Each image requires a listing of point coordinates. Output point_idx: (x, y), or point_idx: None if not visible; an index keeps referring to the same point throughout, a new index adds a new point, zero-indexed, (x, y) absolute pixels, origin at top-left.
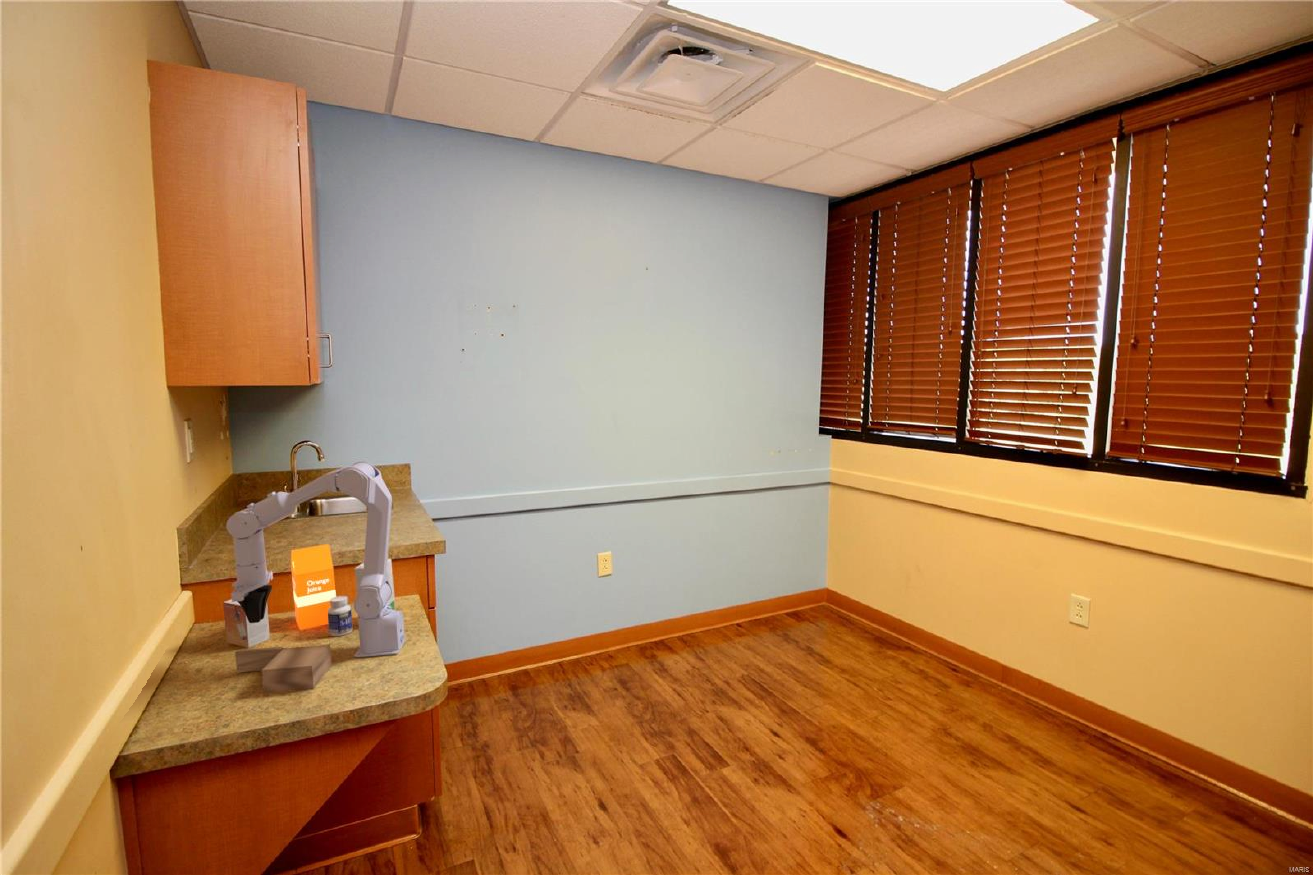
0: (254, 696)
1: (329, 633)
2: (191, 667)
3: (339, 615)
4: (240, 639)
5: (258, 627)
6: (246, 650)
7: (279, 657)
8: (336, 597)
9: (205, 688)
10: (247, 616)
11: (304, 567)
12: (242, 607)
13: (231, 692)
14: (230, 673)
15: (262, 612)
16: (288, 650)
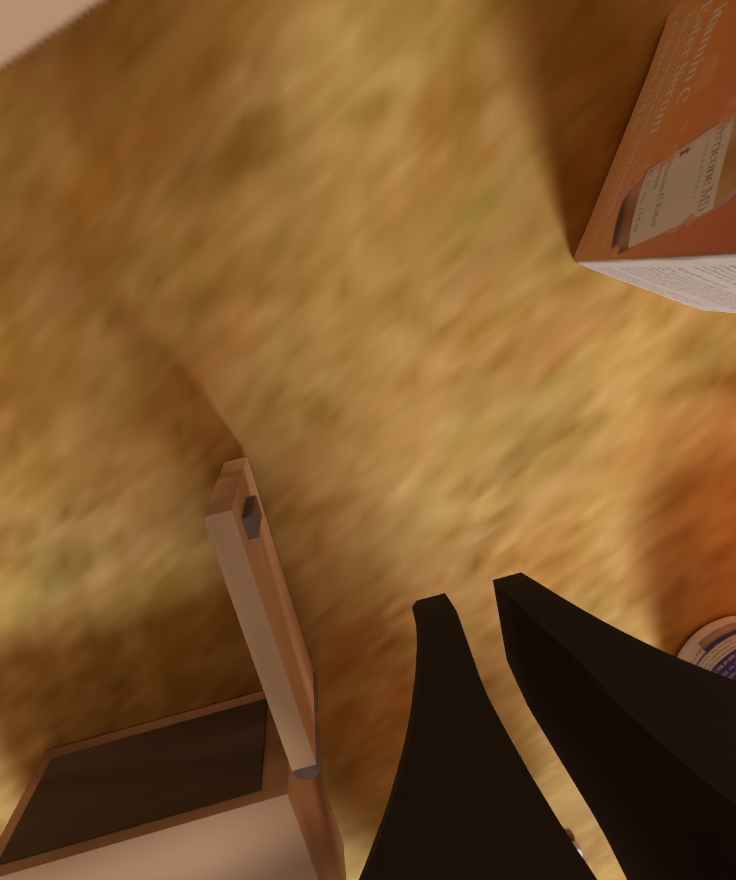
0: (11, 728)
1: (700, 637)
2: (281, 42)
3: None
4: (631, 176)
5: (722, 292)
6: (240, 580)
7: (157, 859)
8: None
9: (26, 407)
10: (416, 658)
11: None
12: (403, 761)
13: (20, 591)
14: (225, 414)
15: (543, 723)
16: (260, 839)
